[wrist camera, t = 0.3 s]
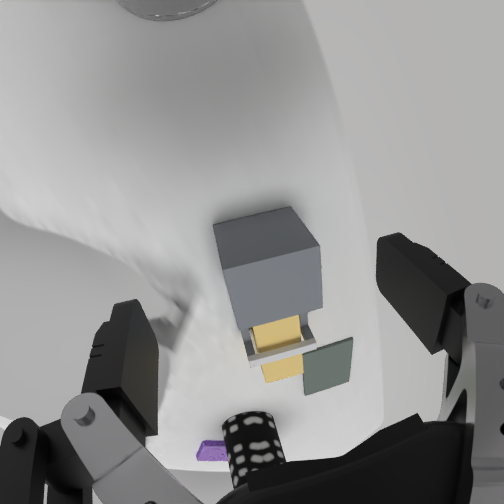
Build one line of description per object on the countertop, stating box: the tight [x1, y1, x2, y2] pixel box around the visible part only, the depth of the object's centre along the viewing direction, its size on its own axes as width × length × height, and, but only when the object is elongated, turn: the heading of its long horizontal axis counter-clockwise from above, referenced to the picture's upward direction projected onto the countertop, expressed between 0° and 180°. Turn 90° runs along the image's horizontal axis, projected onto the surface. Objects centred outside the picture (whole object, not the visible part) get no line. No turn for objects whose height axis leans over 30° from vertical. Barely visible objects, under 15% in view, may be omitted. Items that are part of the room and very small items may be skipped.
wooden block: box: [252, 315, 304, 383], centre depth 34 cm, size 10×4×4 cm, turn 9°
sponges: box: [196, 440, 228, 461], centre depth 50 cm, size 7×13×2 cm, turn 71°
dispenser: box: [213, 207, 323, 368], centre depth 29 cm, size 14×7×7 cm, turn 9°
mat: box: [302, 337, 353, 396], centre depth 42 cm, size 10×7×1 cm
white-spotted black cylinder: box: [222, 412, 286, 489], centre depth 38 cm, size 8×8×20 cm
